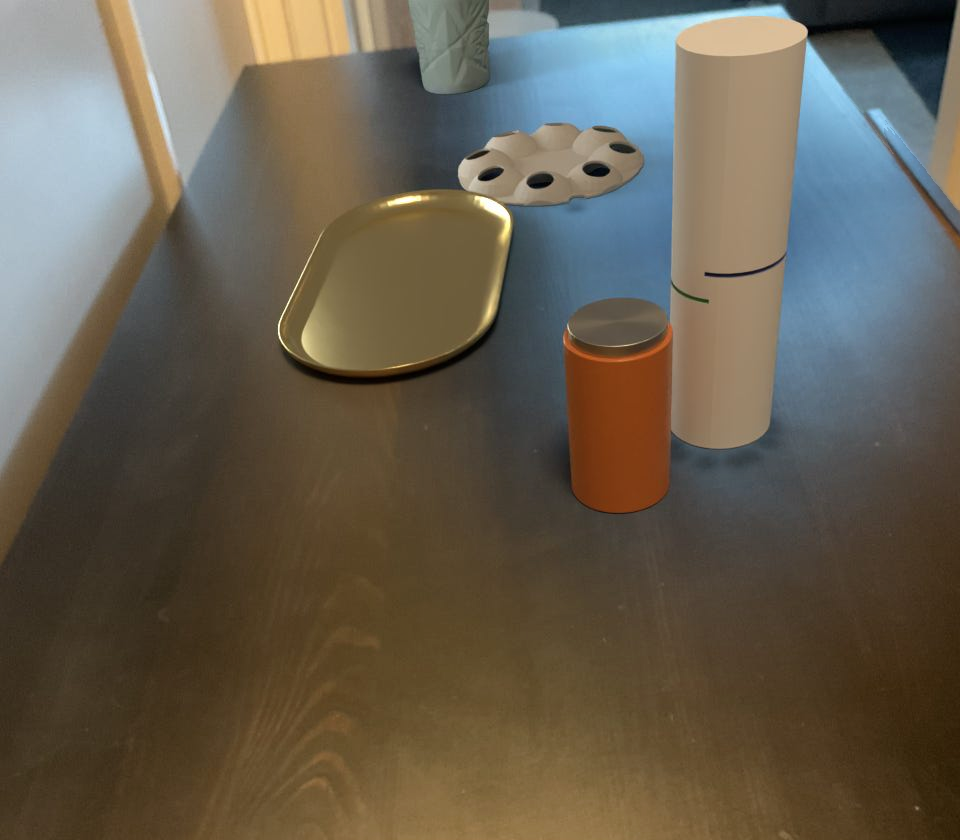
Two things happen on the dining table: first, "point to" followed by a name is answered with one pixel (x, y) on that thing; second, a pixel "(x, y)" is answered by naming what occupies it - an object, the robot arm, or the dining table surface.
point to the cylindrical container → (731, 221)
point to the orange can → (619, 403)
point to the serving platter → (400, 284)
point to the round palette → (551, 164)
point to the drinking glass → (452, 44)
